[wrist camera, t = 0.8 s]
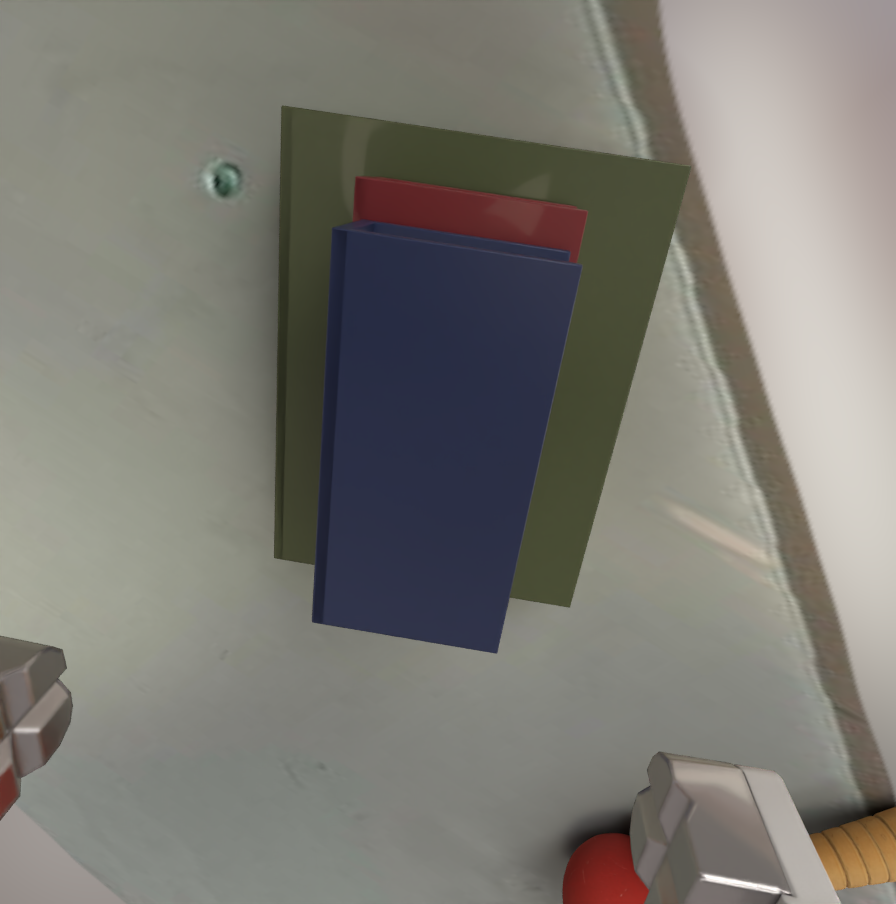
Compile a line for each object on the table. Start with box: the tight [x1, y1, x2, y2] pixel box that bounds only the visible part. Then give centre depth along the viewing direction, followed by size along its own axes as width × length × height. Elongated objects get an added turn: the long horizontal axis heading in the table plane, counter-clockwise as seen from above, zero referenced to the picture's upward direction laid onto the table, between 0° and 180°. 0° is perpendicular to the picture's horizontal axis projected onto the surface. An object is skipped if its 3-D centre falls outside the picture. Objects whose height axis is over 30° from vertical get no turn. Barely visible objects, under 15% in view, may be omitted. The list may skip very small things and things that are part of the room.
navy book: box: [312, 219, 583, 653], centre depth 17 cm, size 11×6×3 cm, turn 172°
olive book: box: [274, 106, 691, 607], centre depth 22 cm, size 16×12×3 cm
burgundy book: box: [353, 176, 588, 263], centre depth 19 cm, size 13×6×3 cm, turn 172°
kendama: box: [563, 807, 896, 904], centre depth 30 cm, size 8×6×18 cm
